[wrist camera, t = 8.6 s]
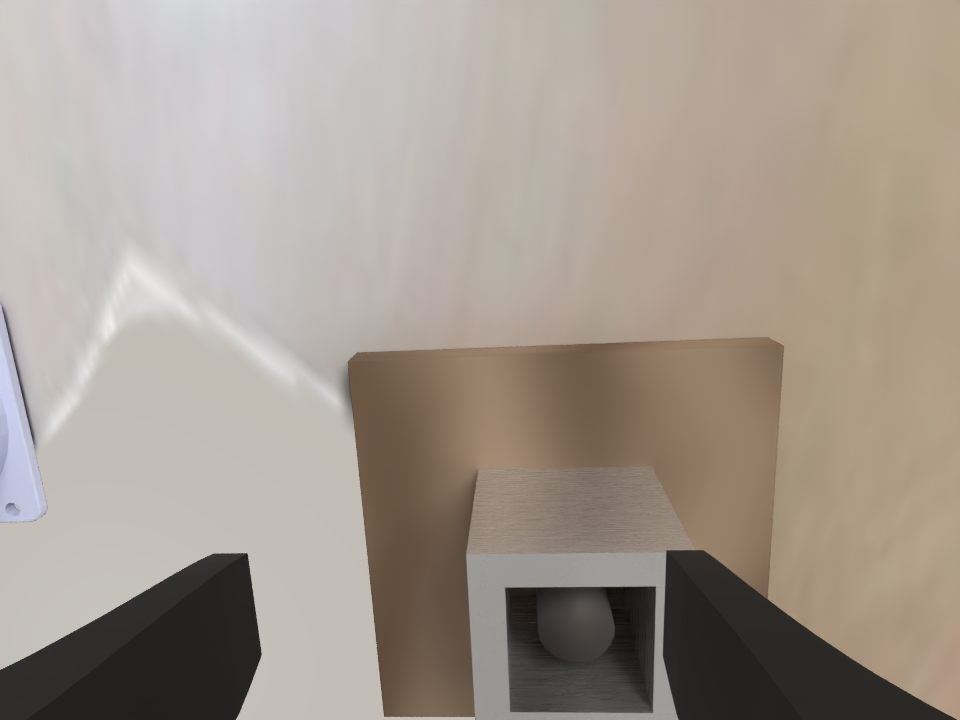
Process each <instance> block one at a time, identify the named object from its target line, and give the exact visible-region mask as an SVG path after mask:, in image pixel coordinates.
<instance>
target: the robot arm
mask: <svg viewBox="0 0 960 720" xmlns="http://www.w3.org/2000/svg"><path fill="white" fill-rule="evenodd" d="M14 503H15V504H16V505H17V506H18V507H19V509H20V511H19V510H17V509H16V507H15V505H14ZM46 511H47V502H46V497H45V493H44V488H43V484H42V480H41V475H40V471H39V467H38V462H37V458H36V454H35V449H34V445H33V441H32V436H31V432H30V428H29V423H28V419H27V415H26V411H25V406H24V402H23V398H22V393H21V389H20V385H19V380H18V376H17V372H16V367H15V363H14V359H13V354H12V350H11V346H10V341H9V337H8V333H7V328H6V324H5V320H4V315H3V311H2V307H1V305H0V522H32V521H36V520H37V519H39V518H40V517H42V516H43V515H44V514H46ZM261 655H262V654H261V647H260V639H259V633H258V625H257V618H256V611H255V604H254V597H253V589H252V582H251V575H250V568H249V561H248V554H247V553H246V554H245V553H244V554H243V553H241V554H240V553H238V554H212V555H210V556H207V557H205V558H203V559H201V560H199V561H197V562H195V563H193V564H192V565H190V566H188V567H186V568H184V569H182V570H181V571H179V572H177V573H175V574H174V575H172V576H170V577H168V578H167V579H165V580H163V581H162V582H160V583H158V584H156V585H155V586H153V587H151V588H150V589H148V590H146V591H144V592H143V593H141V594H139V595H138V596H136V597H134V598H132V599H131V600H129V601H127V602H126V603H124V604H122V605H120V606H119V607H117V608H115V609H114V610H112V611H110V612H108V613H107V614H105V615H103V616H102V617H100V618H98V619H96V620H95V621H92V622H91V623H89V624H87V625H85V626H83V627H82V628H80V629H78V630H76V631H74V632H73V633H70V634H69V635H67V636H65V637H63V638H61V639H59V640H58V641H56V642H54V643H52V644H50V645H48V646H46V647H45V648H43V649H41V650H39V651H37V652H36V653H34V654H32V655H30V656H28V657H26V658H24V659H22V660H20V661H18V662H16V663H14V664H12V665H10V666H7V667H5V668H3V669H1V670H0V720H236V718H237V716H238V714H239V713H240V710H241V708H242V705H243V703H244V700H245V698H246V695H247V693H248V690H249V688H250V685H251V683H252V680H253V677H254V674H255V672H256V669H257V666H258V663H259V661H260V658H261ZM663 659H664V664H665V668H666V672H667V677H668V681H669V685H670V690H671V694H672V698H673V702H674V706H675V710H676V714H677V717H678V720H956V719H955V718H953V717H951V716H949V715H947V714H945V713H943V712H941V711H940V710H938V709H936V708H934V707H932V706H930V705H928V704H927V703H925V702H923V701H921V700H920V699H918V698H916V697H914V696H913V695H911V694H909V693H907V692H906V691H904V690H902V689H900V688H899V687H897V686H895V685H894V684H892V683H890V682H888V681H887V680H885V679H883V678H881V677H880V676H878V675H876V674H875V673H873V672H872V671H870V670H868V669H867V668H865V667H864V666H862V665H860V664H859V663H857V662H856V661H854V660H852V659H851V658H849V657H848V656H846V655H845V654H843V653H842V652H840V651H839V650H838V649H836V648H835V647H833V646H832V645H830V644H829V643H827V642H826V641H824V640H823V639H821V638H820V637H818V636H817V635H815V634H814V633H812V632H811V631H810V630H808V629H807V628H805V627H804V626H803V625H801V624H800V623H798V622H797V621H796V620H794V619H793V618H792V617H790V616H789V615H787V614H786V613H785V612H783V611H782V610H781V609H779V608H778V607H777V606H775V605H774V604H773V603H772V602H770V601H769V600H768V599H766V598H765V597H764V596H762V595H761V594H760V593H759V592H757V591H756V590H755V589H753V588H752V587H751V586H750V585H748V584H747V583H746V582H745V581H743V580H742V579H741V578H739V577H738V576H737V575H736V574H734V573H733V572H732V571H731V570H729V569H728V568H727V567H726V566H724V565H723V564H722V563H720V562H719V561H718V560H717V559H715V558H714V557H713V556H711V555H710V554H708V553H707V552H706V551H704V550H666V575H665V604H664V632H663Z"/></svg>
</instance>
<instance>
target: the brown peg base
mask: <svg viewBox="0 0 960 720" xmlns="http://www.w3.org/2000/svg"><path fill="white" fill-rule="evenodd" d="M783 353H784V346H783V345H781V344H779V343H778V342H776V341H774V340H772V339H770V338H741V339H714V340H687V341H660V342H632V343H605V344H578V345H551V346H524V347H497V348H470V349H443V350H416V351H389V352H362V353H356V354H355V355H354V356H353V357H352V358H351V359H350V360H349V361H348V370H349V380H350V389H351V399H352V409H353V418H354V428H355V438H356V448H357V457H358V467H359V477H360V487H361V496H362V506H363V516H364V525H365V535H366V545H367V554H368V564H369V573H370V584H371V594H372V602H373V612H374V623H375V632H376V642H377V652H378V662H379V671H380V681H381V691H382V700H383V710H384V717H392V716H393V717H475V705H474V687H473V669H472V651H471V633H470V615H469V597H468V579H467V561H466V552H467V545H468V538H469V531H470V524H471V517H472V510H473V503H474V496H475V489H476V482H477V475H478V470H481V469H534V468H586V467H638V466H652V468H653V470H654V472H655V474H656V476H657V478H658V480H659V482H660V484H661V486H662V487H663V489H664V491H665V493H666V495H667V497H668V499H669V501H670V503H671V505H672V507H673V509H674V511H675V513H676V515H677V516H678V518H679V520H680V522H681V524H682V526H683V528H684V530H685V532H686V534H687V536H688V538H689V540H690V542H691V544H692V546H693V547H694V549H695V550H704V551H706V552H707V553H708V554H710V555H711V556H713V557H714V558H715V559H717V560H718V561H719V562H720V563H722V564H723V565H724V566H726V567H727V568H728V569H729V570H731V571H732V572H733V573H734V574H736V575H737V576H738V577H739V578H741V579H742V580H743V581H745V582H746V583H747V584H748V585H750V586H751V587H752V588H753V589H755V590H756V591H757V592H759V593H760V594H761V595H762V596H764V597H765V598H766V599H768V583H769V568H770V553H771V537H772V522H773V507H774V491H775V476H776V460H777V445H778V430H779V414H780V399H781V383H782V368H783ZM607 594H621V587H511V595H536V599H537V618H538V633H539V638H540V640H541V642H542V644H543V646H544V647H545V648H546V650H548V651H549V652H550V653H551V654H552V655H554V656H555V657H557V658H559V659H562V660H565V661H570V662H583V661H588V660H591V659H594V658H596V657H598V656H599V655H601V654H602V653H604V652H605V651H606V650H607V648H608V647H609V646H610V644H611V642H612V640H613V638H614V633H615V626H614V621H613V617H612V612H611V608H610V604H609V599H608V595H607Z"/></svg>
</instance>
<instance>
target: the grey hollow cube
mask: <svg viewBox="0 0 960 720" xmlns="http://www.w3.org/2000/svg"><path fill="white" fill-rule="evenodd" d="M666 550H695V549H694V547H693V546H692V544H691V542H690V540H689V538H688V536H687V534H686V532H685V530H684V528H683V526H682V524H681V522H680V520H679V518H678V516H677V515H676V513H675V511H674V509H673V507H672V505H671V503H670V501H669V499H668V497H667V495H666V493H665V491H664V489H663V487H662V486H661V484H660V482H659V480H658V478H657V476H656V474H655V472H654V470H653V468H652V466H638V467H586V468H534V469H481V470H478V475H477V482H476V489H475V496H474V503H473V510H472V517H471V524H470V531H469V538H468V545H467V552H466V561H467V579H468V597H469V615H470V633H471V651H472V669H473V687H474V705H475V720H678V717H677V714H676V710H675V706H674V702H673V698H672V694H671V690H670V685H669V681H668V677H667V672H666V668H665V664H664V659H663V632H664V604H665V575H666ZM511 587H621V594H607V595H608V599H609V604H610V608H611V612H612V617H613V621H614V626H615V633H614V638H613V640H612V642H611V644H610V646H609V647H608V648H607V650H606V651H605V652H604V653H602V654H601V655H599V656H598V657H596V658H594V659H591V660H588V661H583V662H570V661H565V660H562V659H559V658H557V657H555V656H554V655H552V654H551V653H550V652H549V651H548V650H546V648H545V647H544V646H543V644H542V642H541V640H540V638H539V633H538V618H537V599H536V595H511Z"/></svg>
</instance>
